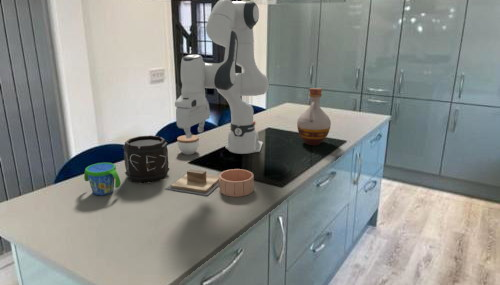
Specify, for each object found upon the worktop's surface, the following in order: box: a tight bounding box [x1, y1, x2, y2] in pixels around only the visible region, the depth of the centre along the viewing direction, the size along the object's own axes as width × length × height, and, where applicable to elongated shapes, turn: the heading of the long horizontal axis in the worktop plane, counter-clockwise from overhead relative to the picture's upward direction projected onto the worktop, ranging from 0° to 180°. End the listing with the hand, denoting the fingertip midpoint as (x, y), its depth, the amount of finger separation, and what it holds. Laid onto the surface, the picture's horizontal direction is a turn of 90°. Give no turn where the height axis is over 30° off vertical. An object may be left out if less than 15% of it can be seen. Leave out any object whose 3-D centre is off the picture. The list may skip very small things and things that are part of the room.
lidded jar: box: [176, 134, 200, 155], centre depth 186 cm, size 11×11×9 cm
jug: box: [296, 87, 332, 146], centre depth 198 cm, size 20×18×30 cm
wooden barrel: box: [122, 134, 170, 185], centre depth 155 cm, size 18×18×16 cm
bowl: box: [218, 168, 255, 198], centre depth 144 cm, size 13×13×6 cm
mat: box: [165, 172, 219, 197], centre depth 150 cm, size 18×18×1 cm
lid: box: [170, 168, 219, 193], centre depth 149 cm, size 15×15×5 cm
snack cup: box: [83, 162, 121, 197], centre depth 141 cm, size 16×10×10 cm
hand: (195, 134), depth 144 cm, fingers open, 8 cm apart
